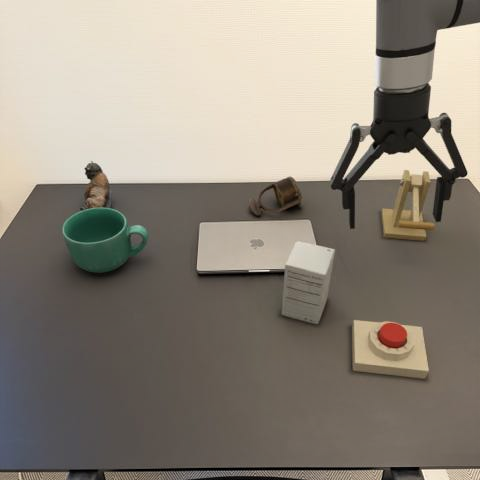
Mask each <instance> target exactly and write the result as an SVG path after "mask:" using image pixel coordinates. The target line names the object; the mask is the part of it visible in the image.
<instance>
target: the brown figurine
mask: <svg viewBox="0 0 480 480" xmlns="http://www.w3.org/2000/svg"><path fill="white" fill-rule="evenodd" d="M84 170H85V172H84V175H85V176H86V179H87V180H90V181H89V183H88V184H87V186H86V188H85V191H84V193H83V194H84V196H83V198H84V199H83V201H84V204H81V205H80V206H79V208H78V212H80V211H83V210H86V209H91V208H110V209H111V205H112V198H113V197H112V196H113V192H112V190H111V187H110V182H109V179H108V176H107V175H106V173H104V171H103V168H102V167H101V166H100V165H99V164H98V163H96V162H94V161H92V160H90V162H89V163H87V165H86V167H84Z"/></svg>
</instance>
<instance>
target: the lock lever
mask: <svg viewBox="0 0 480 480" xmlns="http://www.w3.org/2000/svg"><path fill="white" fill-rule="evenodd" d="M410 178H411V183H410V186H409V190H408V193H411V211H412V219H413V221H402V220H399V221H398V227H399V228H411V229H423V230H425V231H434V230H435V227H436V225H435V222H427V221H426V222H424V221H423V222H419V191H420V189H421V186H422V174H412V173H411V174H410Z"/></svg>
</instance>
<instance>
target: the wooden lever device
mask: <svg viewBox="0 0 480 480" xmlns="http://www.w3.org/2000/svg"><path fill="white" fill-rule="evenodd" d="M421 175H422V186H421V189H420V191H419V222H424V217H423V212H422V211H423V208H424V204H425V201H426V198H427V196H428V193H429V189H430V187H431V183H432V182H431V178H430V174H429V171H423V172H422V174H421ZM410 176H411V174H410V170H408V169H404V170H403V173H402V176H401V179H400V180H399V181H400V182H399V188H398V192H397V196H396V200H395V203H394V206H393V208H381V213H380V214H381V222H382V231H383V232H382V233H383V238H384V239H386V238H387V239H397V240H410V241H422V242H425V241H426V239H427V232H426V230H423V229H411V228H399V227H398V221H399V220H402V221H413V219H412V210H409V209H407V210H406V209H404V208H405V207H404V206H405V204H406V200H407V196H408V193H409V192H408V190H409V186H410V183H411V178H410Z"/></svg>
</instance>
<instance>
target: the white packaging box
mask: <svg viewBox="0 0 480 480" xmlns="http://www.w3.org/2000/svg"><path fill="white" fill-rule="evenodd" d="M335 254H336V249H334V248H330V247H327V246H323V245H317V244H313V243H308V242H303V241H299V240H298V241H295V243H294V245H293V247H292V249H291V251H290V254H289V256H288V258H287V260H286V262H285V264H284V278H283V287H282V301H281V316H284V317H287V318H291V319H296V320H298V321H303V322H307V323H309V324H314V325H319V323H320V320H321V318H322V315H323V313H324V310H325V306H326V304H327V300H328V295H329V290H330V289H329V288H330V283H331V278H332V272H333V266H334V261H335Z"/></svg>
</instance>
